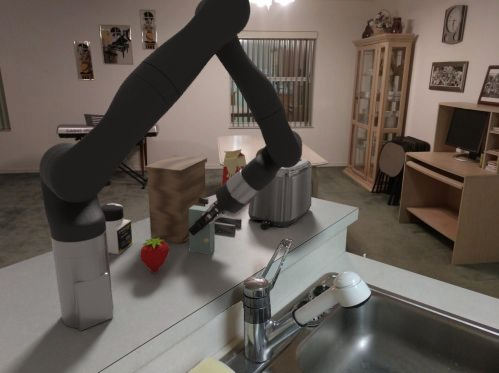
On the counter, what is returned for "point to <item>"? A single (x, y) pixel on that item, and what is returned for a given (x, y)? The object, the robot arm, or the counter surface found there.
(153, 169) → the wooden cabinet
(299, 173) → the toaster
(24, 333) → the counter surface
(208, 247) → the gray-green rectangular block
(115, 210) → the medicine bottle
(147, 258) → the strawberry
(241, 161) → the milk carton
